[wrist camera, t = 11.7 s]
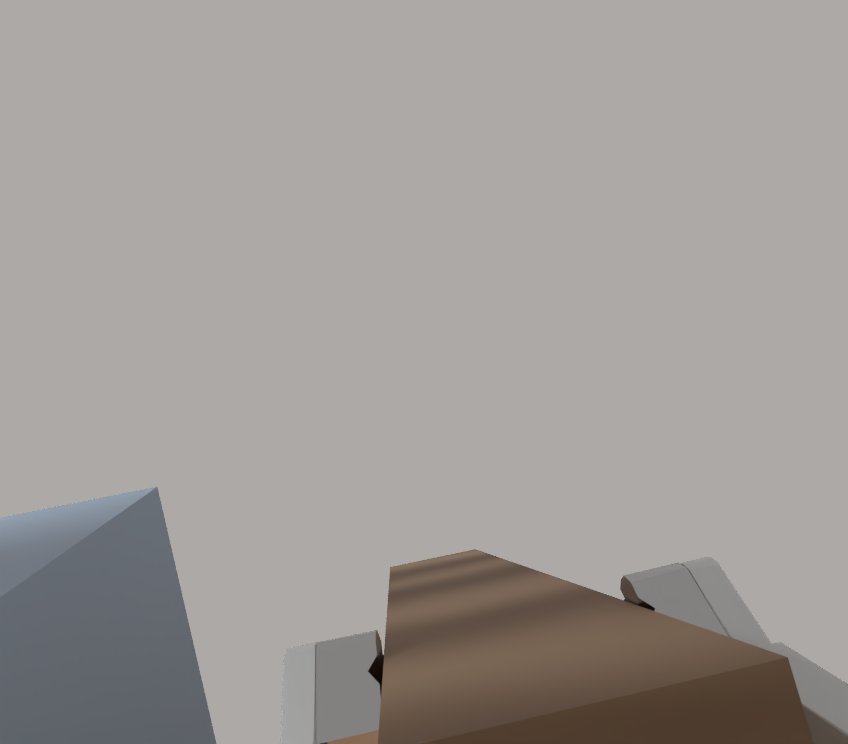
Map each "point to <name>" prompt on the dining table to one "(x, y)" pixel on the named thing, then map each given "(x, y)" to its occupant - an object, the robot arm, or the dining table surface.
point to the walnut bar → (565, 666)
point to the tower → (96, 628)
